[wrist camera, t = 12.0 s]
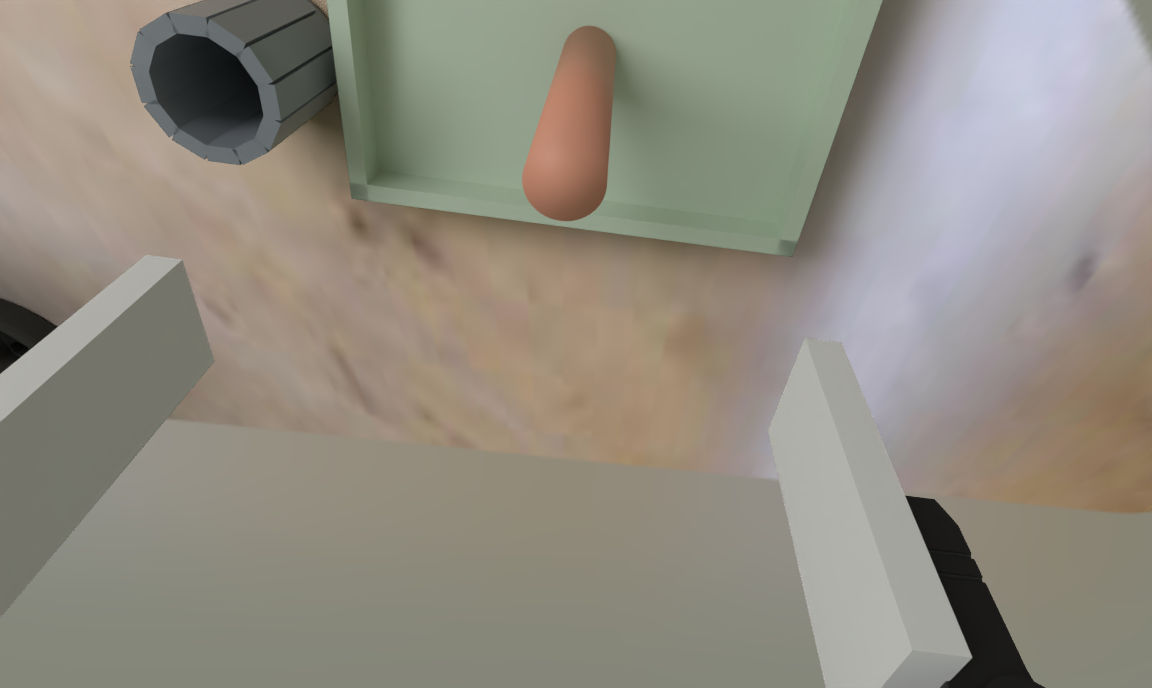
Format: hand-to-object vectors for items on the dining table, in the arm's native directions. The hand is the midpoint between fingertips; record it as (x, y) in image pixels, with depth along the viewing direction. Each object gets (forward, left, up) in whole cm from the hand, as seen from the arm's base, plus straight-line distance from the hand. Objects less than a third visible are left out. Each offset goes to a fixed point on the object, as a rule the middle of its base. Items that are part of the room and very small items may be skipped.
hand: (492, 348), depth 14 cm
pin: (+1, 0, -25) cm, 25 cm away
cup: (-17, -2, -26) cm, 31 cm away
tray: (0, 0, -26) cm, 26 cm away
